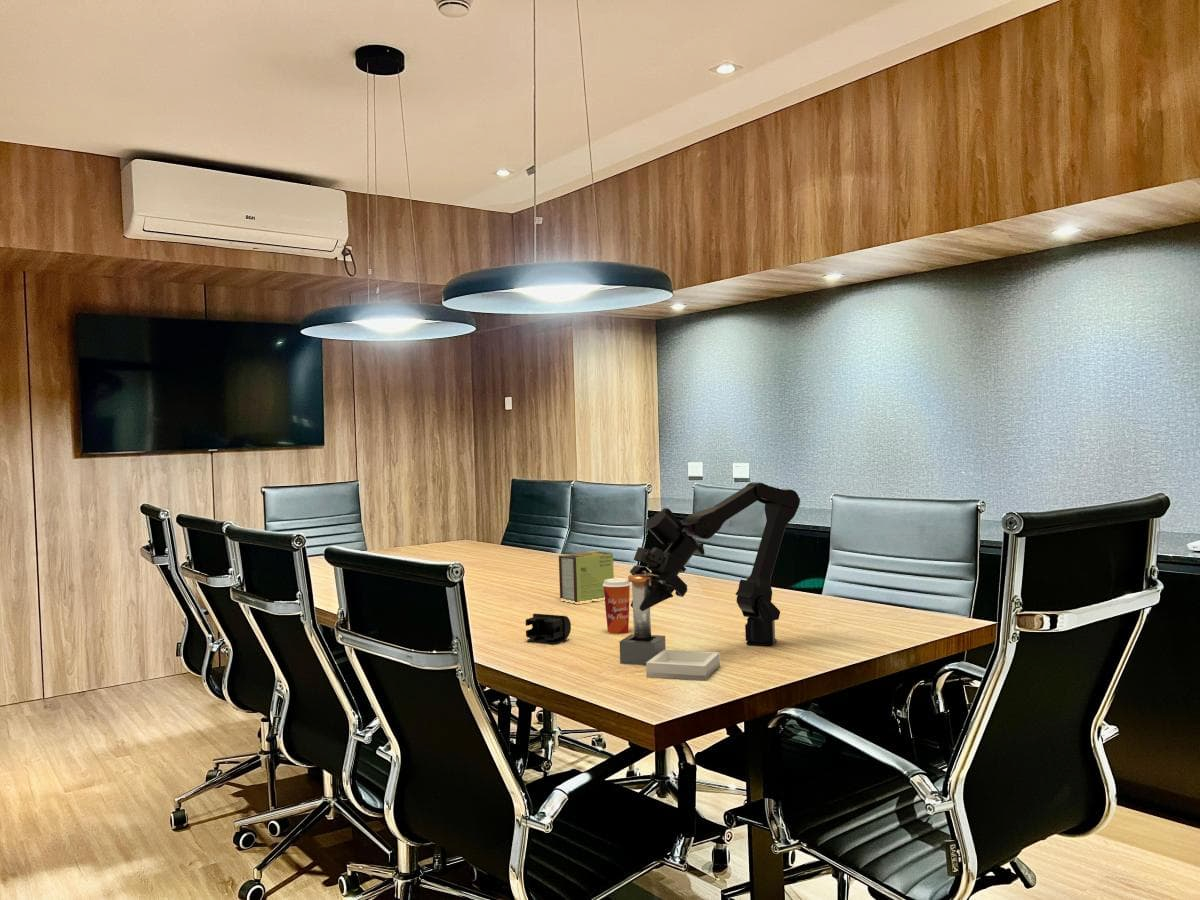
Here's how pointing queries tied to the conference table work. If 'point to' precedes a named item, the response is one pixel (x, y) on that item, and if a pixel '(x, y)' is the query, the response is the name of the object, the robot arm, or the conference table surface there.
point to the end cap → (548, 629)
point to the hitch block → (640, 649)
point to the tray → (683, 664)
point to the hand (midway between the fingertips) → (636, 608)
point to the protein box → (584, 575)
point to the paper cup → (617, 604)
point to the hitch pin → (638, 594)
